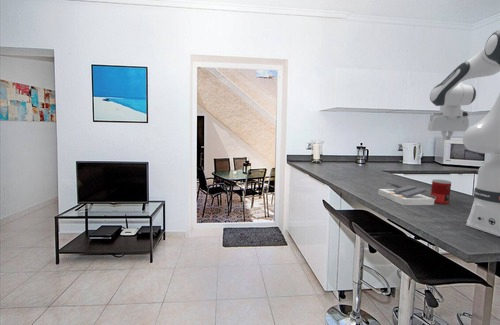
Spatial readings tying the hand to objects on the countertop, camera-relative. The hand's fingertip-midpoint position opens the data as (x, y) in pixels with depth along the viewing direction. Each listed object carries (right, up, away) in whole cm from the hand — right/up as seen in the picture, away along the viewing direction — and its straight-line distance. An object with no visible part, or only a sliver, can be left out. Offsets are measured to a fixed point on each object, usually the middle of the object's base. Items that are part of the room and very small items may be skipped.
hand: (446, 140), depth 150 cm
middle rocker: (-22, -26, -1) cm, 35 cm away
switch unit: (-22, -31, 0) cm, 38 cm away
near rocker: (-21, -27, -8) cm, 36 cm away
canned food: (-7, -32, -5) cm, 33 cm away
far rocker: (-23, -26, +6) cm, 35 cm away
